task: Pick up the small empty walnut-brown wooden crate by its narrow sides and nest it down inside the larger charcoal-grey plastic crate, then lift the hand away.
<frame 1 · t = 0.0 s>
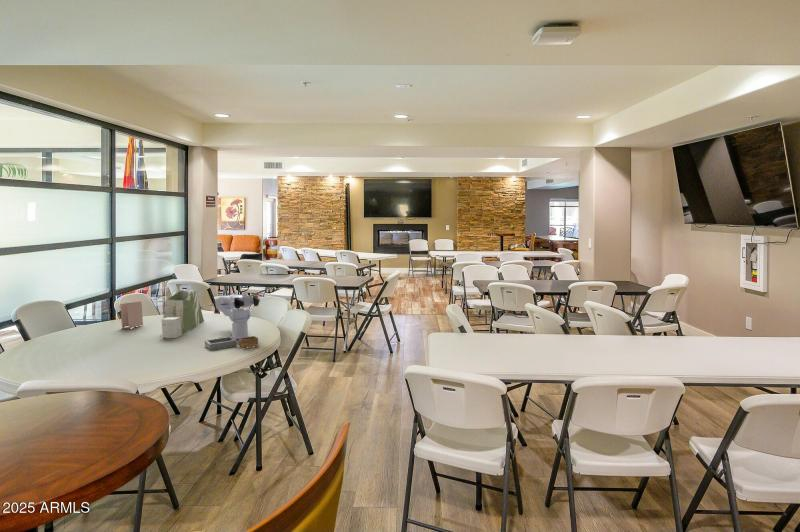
hand: (250, 302, 248), 22 cm above the table, tool horizontal, fingers open, 7 cm apart
small crate: (248, 346, 246), on the table
pink upright box: (134, 328, 293), on the table
small box: (172, 337, 269), on the table
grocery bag: (184, 327, 293), on the table
big crate: (220, 346, 248), on the table
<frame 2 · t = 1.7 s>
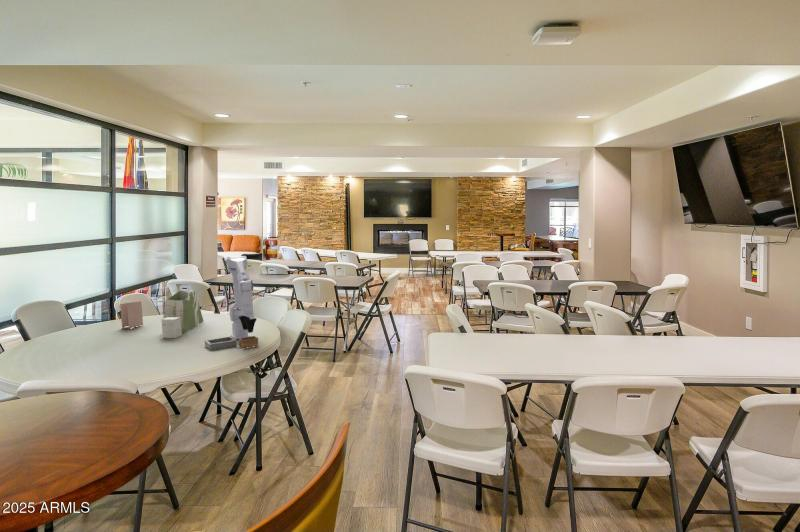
hand: (248, 331, 245), 8 cm above the table, tool pointing down, fingers open, 7 cm apart
nothing on the table moved.
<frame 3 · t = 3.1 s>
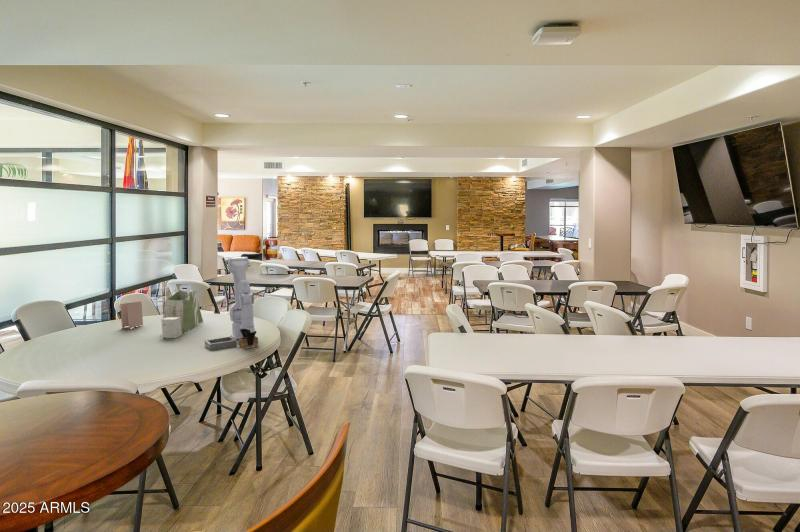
hand: (248, 343, 246), 1 cm above the table, tool pointing down, fingers closed on small crate, 5 cm apart
small crate: (248, 346, 246), on the table, touching gripper
everything else where it was.
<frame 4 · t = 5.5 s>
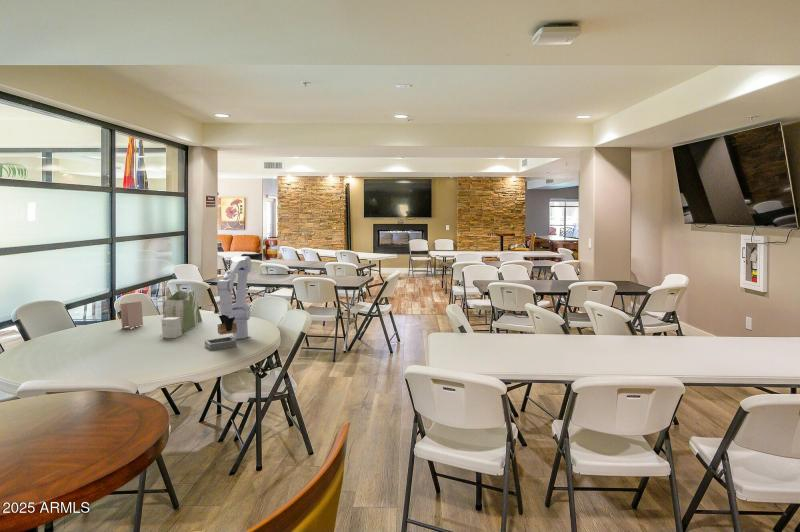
hand: (227, 329, 247), 8 cm above the table, tool pointing down, fingers closed on small crate, 5 cm apart
small crate: (227, 332, 247), point 7 cm above the table, touching gripper
everything else where it was.
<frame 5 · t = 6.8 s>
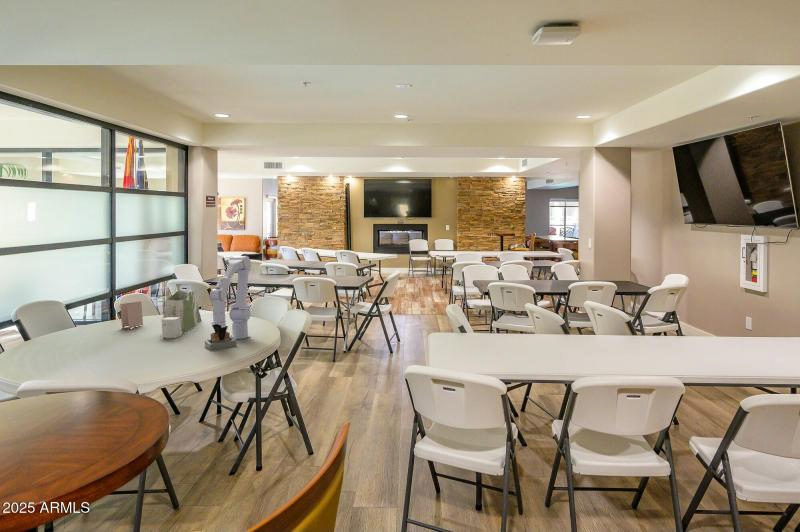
hand: (220, 338, 247), 4 cm above the table, tool pointing down, fingers closed on small crate, 5 cm apart
small crate: (220, 341, 248), point 2 cm above the table, touching gripper
everything else where it was.
when the fingers open (4 cm above the table, at t = 7.7 s): small crate drops 2 cm, resting on big crate.
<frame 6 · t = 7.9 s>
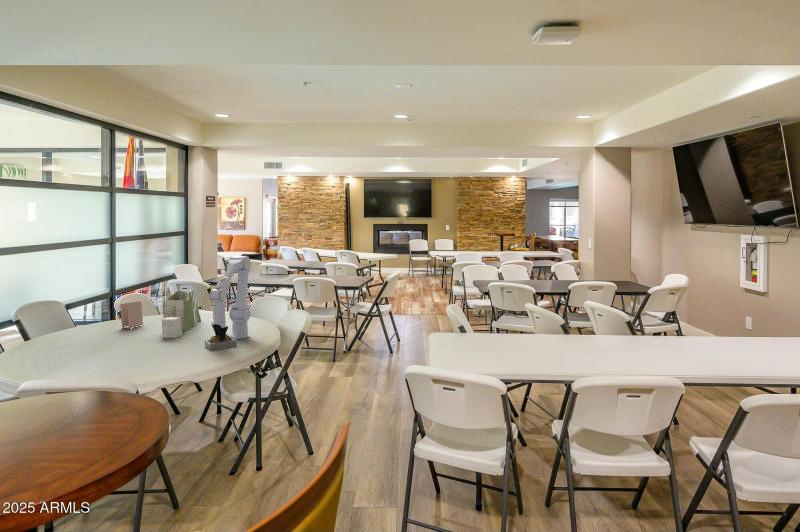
hand: (220, 339, 247), 4 cm above the table, tool pointing down, fingers open, 6 cm apart
small crate: (220, 344, 248), point 1 cm above the table, touching big crate
everything else where it was.
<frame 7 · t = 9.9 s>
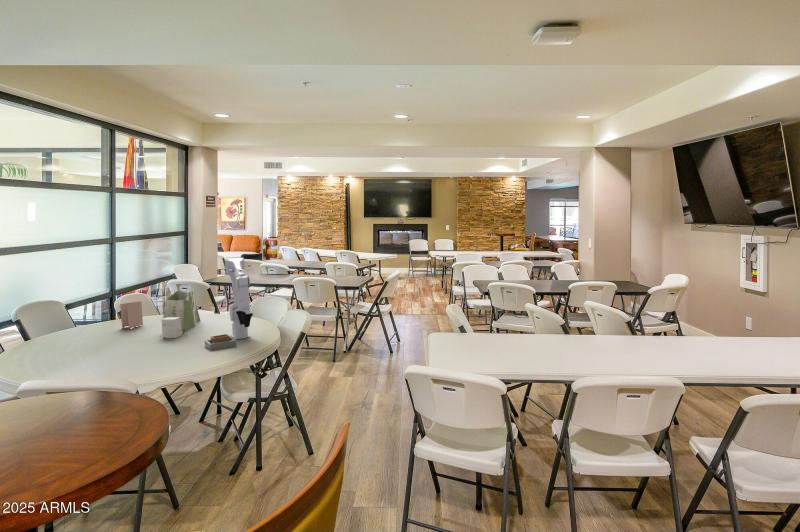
hand: (244, 325, 252), 9 cm above the table, tool pointing down, fingers open, 7 cm apart
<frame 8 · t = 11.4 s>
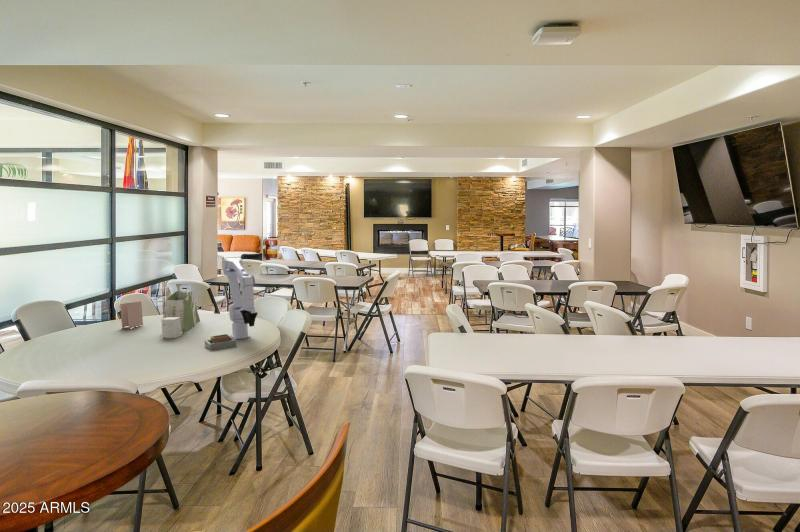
hand: (249, 324, 252), 9 cm above the table, tool pointing down, fingers open, 7 cm apart
at the end: small crate 0.1 cm off-centre on the big crate, point 0.6 cm above the big crate's base; small crate tilted 0°; the gripper is holding nothing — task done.
